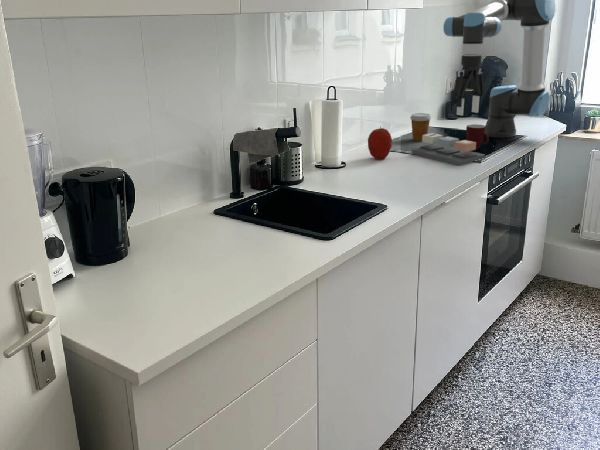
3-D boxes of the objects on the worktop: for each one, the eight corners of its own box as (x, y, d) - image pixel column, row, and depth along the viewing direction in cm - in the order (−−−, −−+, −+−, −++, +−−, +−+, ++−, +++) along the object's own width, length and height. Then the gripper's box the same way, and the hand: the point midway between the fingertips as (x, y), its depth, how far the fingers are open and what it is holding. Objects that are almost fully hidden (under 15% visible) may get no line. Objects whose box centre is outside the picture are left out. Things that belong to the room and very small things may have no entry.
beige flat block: (464, 147, 246) (464, 139, 245) (475, 149, 242) (476, 141, 240) (454, 149, 243) (454, 141, 242) (465, 151, 238) (466, 144, 237)
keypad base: (437, 148, 265) (437, 142, 264) (484, 159, 245) (485, 153, 244) (411, 153, 257) (412, 148, 256) (458, 165, 237) (458, 159, 236)
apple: (375, 154, 257) (376, 122, 253) (396, 157, 252) (397, 125, 247) (362, 159, 250) (363, 126, 245) (383, 162, 244) (384, 129, 239)
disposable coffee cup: (420, 143, 275) (422, 117, 271) (405, 140, 282) (406, 114, 278) (434, 140, 281) (435, 114, 277) (418, 136, 288) (419, 112, 284)
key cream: (431, 139, 260) (432, 132, 259) (442, 142, 256) (442, 134, 254) (422, 141, 257) (422, 134, 256) (432, 144, 252) (432, 136, 251)
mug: (492, 148, 262) (494, 126, 258) (484, 152, 256) (486, 129, 253) (469, 145, 268) (471, 123, 265) (461, 149, 263) (463, 126, 259)
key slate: (447, 143, 253) (448, 135, 252) (458, 145, 249) (459, 138, 247) (437, 145, 250) (438, 137, 249) (448, 147, 245) (449, 140, 244)
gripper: (481, 52, 238) (477, 109, 246) (445, 56, 227) (442, 115, 235) (497, 53, 232) (492, 111, 240) (460, 57, 221) (456, 118, 229)
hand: (467, 113), depth 237 cm, fingers open, 8 cm apart
